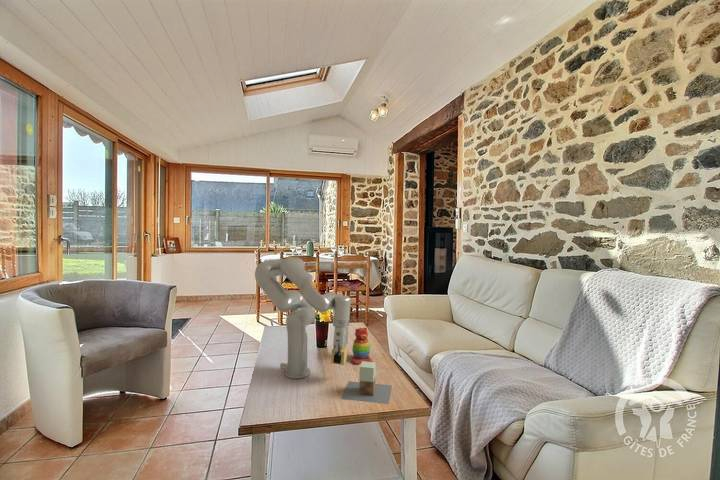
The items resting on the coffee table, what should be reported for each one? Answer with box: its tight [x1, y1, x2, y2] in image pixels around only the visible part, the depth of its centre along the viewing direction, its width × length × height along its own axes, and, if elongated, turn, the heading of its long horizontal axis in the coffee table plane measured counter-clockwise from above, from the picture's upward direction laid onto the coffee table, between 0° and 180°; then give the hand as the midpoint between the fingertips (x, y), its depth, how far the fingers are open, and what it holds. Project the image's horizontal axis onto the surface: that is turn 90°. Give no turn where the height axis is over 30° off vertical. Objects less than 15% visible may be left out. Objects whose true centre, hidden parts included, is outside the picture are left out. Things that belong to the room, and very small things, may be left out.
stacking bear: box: [351, 327, 373, 366], centre depth 182 cm, size 11×10×18 cm
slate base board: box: [340, 380, 393, 405], centre depth 145 cm, size 20×16×2 cm
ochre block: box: [330, 346, 348, 366], centre depth 157 cm, size 6×6×6 cm
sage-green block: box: [358, 361, 376, 382], centre depth 145 cm, size 6×6×6 cm
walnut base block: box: [359, 377, 376, 396], centre depth 145 cm, size 6×6×6 cm
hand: (338, 359), depth 158 cm, fingers closed on ochre block, 6 cm apart
